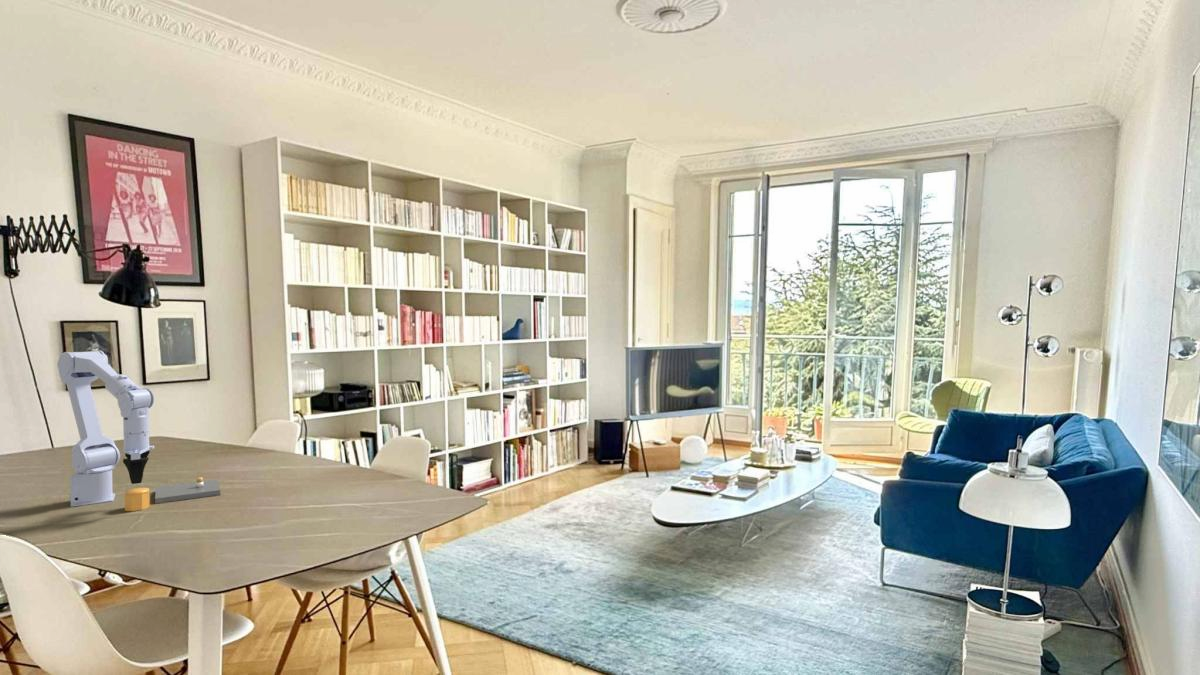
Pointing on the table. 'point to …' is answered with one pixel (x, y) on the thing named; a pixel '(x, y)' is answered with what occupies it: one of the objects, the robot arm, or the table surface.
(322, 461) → the table surface
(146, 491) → the orange acorn nut
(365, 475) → the table surface
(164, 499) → the plate
